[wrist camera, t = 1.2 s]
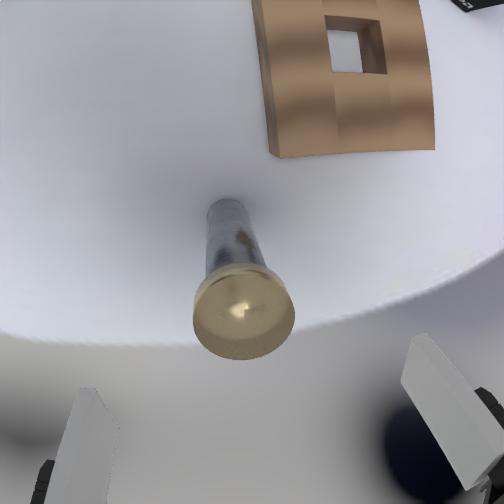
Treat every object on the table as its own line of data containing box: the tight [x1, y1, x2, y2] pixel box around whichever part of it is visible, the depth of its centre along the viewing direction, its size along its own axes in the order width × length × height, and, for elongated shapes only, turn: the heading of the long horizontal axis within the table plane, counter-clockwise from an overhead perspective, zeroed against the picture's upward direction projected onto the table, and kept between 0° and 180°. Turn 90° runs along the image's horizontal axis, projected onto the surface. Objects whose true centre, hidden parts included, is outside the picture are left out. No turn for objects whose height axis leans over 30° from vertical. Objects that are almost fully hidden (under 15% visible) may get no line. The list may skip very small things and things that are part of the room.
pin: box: [193, 199, 295, 360], centre depth 24 cm, size 5×5×18 cm
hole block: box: [251, 0, 435, 159], centre depth 25 cm, size 20×16×5 cm
